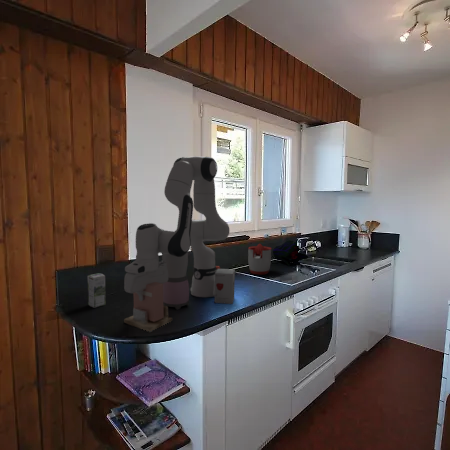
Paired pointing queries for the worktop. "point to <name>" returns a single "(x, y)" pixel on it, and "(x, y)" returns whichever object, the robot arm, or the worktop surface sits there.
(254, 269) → the citrus juicer
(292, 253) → the dark blue bag
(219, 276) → the supplement box
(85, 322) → the worktop surface
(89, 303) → the syrup box
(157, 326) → the beige panel with ridge
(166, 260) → the blender
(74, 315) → the worktop surface
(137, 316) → the grey thin rectangular slab
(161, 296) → the boxed book
